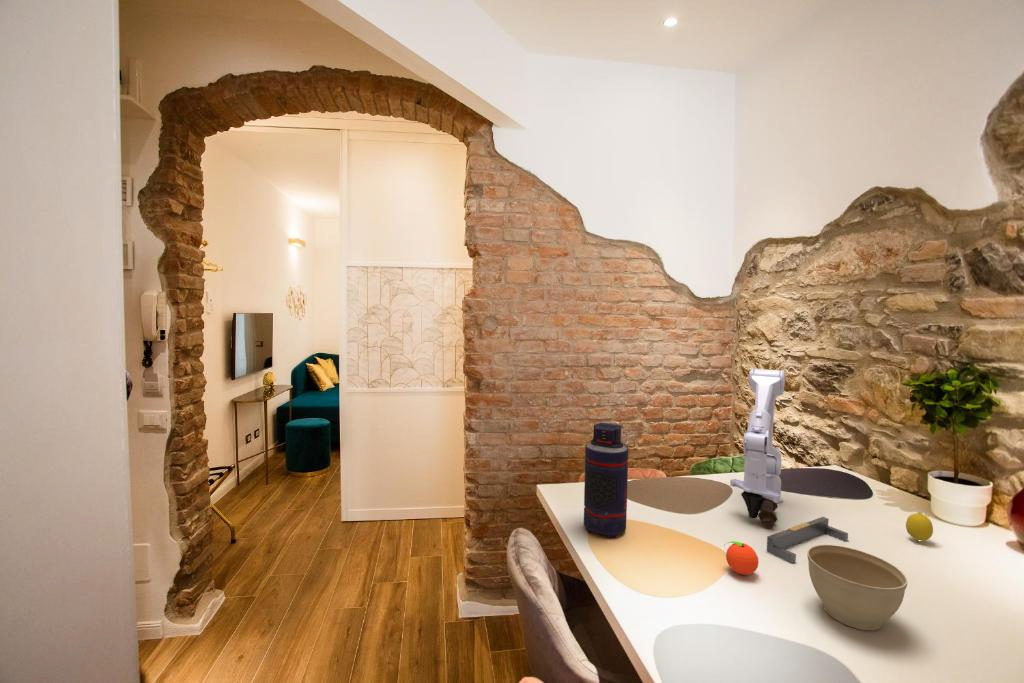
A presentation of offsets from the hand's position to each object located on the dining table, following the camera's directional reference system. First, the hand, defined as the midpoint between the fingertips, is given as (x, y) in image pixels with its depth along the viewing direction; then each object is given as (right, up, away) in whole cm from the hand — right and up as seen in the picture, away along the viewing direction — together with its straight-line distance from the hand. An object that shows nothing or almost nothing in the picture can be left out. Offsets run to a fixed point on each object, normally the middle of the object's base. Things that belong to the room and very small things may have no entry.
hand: (753, 517), depth 135 cm
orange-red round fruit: (-17, -3, -26) cm, 32 cm away
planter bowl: (-2, -4, -42) cm, 42 cm away
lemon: (+40, -3, -10) cm, 41 cm away
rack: (+7, -2, -14) cm, 16 cm away
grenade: (-45, -1, -5) cm, 45 cm away
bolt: (+5, -2, +2) cm, 6 cm away
